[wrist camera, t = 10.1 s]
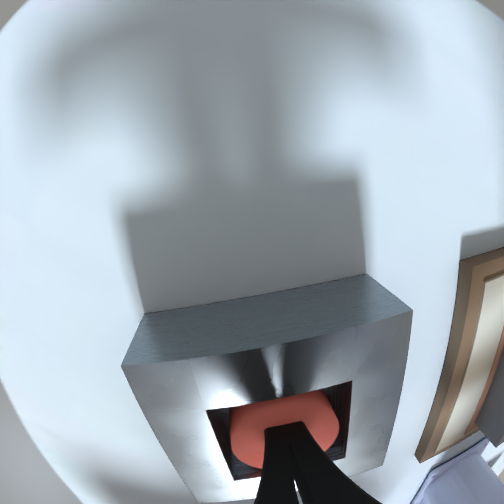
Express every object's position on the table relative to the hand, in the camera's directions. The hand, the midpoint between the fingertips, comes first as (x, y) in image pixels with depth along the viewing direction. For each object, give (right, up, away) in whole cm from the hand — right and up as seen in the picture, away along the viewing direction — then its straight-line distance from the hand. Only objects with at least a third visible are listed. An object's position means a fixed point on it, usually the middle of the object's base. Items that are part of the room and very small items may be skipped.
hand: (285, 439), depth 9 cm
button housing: (0, +1, +3) cm, 3 cm away
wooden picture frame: (+16, 0, +5) cm, 17 cm away
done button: (0, +1, +2) cm, 2 cm away
